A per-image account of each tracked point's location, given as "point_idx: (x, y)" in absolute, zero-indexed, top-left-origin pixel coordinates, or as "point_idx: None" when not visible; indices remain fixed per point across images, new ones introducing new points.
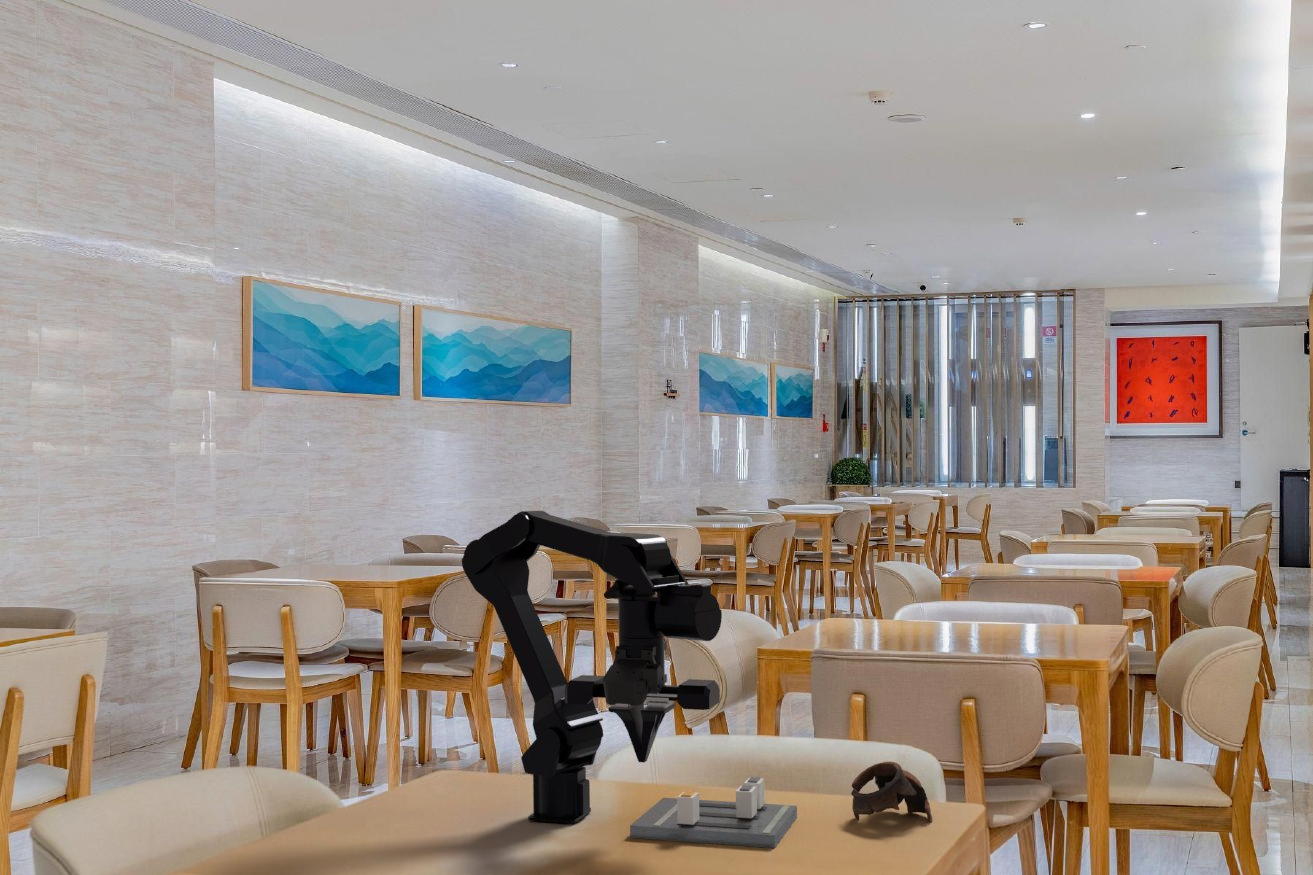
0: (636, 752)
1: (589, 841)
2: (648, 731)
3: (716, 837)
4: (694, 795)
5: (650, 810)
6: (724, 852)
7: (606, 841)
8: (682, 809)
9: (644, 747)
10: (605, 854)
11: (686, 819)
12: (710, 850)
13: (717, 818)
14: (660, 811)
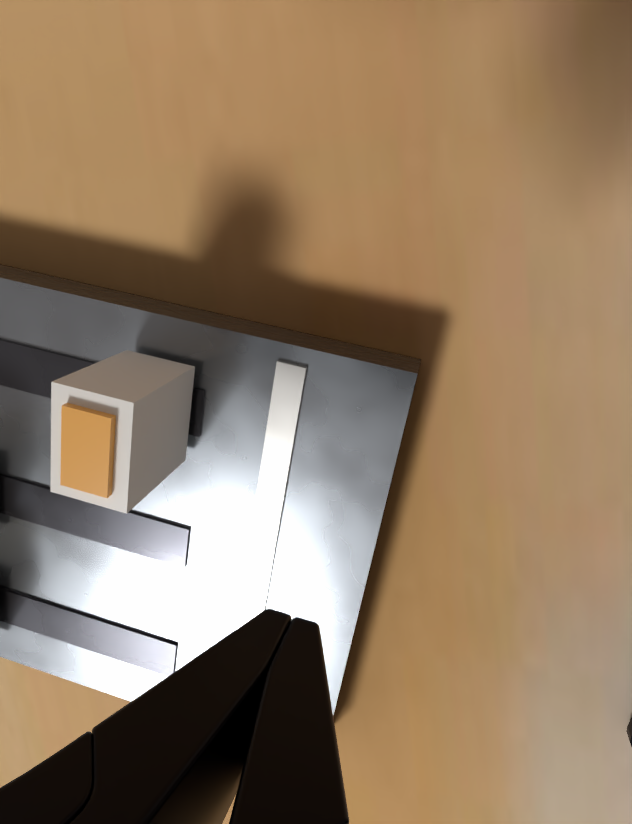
0: (313, 672)
1: (620, 298)
2: (49, 791)
3: (48, 281)
4: (57, 435)
5: (349, 603)
6: (13, 160)
7: (531, 301)
8: (140, 378)
9: (212, 673)
10: (523, 66)
11: (145, 362)
12: (68, 185)
13: None
14: (305, 584)
